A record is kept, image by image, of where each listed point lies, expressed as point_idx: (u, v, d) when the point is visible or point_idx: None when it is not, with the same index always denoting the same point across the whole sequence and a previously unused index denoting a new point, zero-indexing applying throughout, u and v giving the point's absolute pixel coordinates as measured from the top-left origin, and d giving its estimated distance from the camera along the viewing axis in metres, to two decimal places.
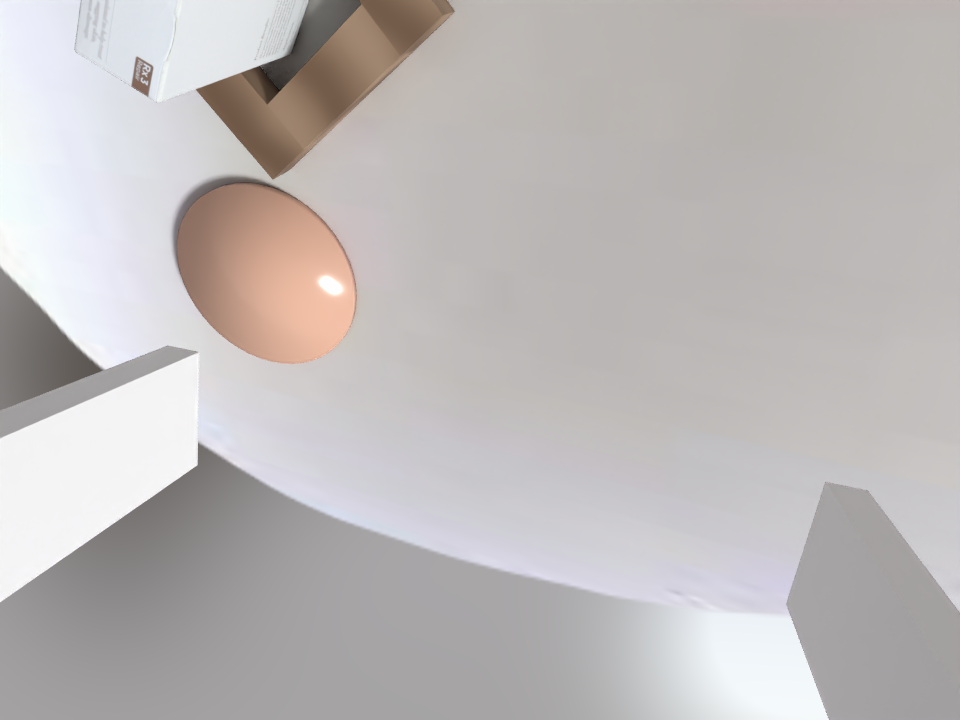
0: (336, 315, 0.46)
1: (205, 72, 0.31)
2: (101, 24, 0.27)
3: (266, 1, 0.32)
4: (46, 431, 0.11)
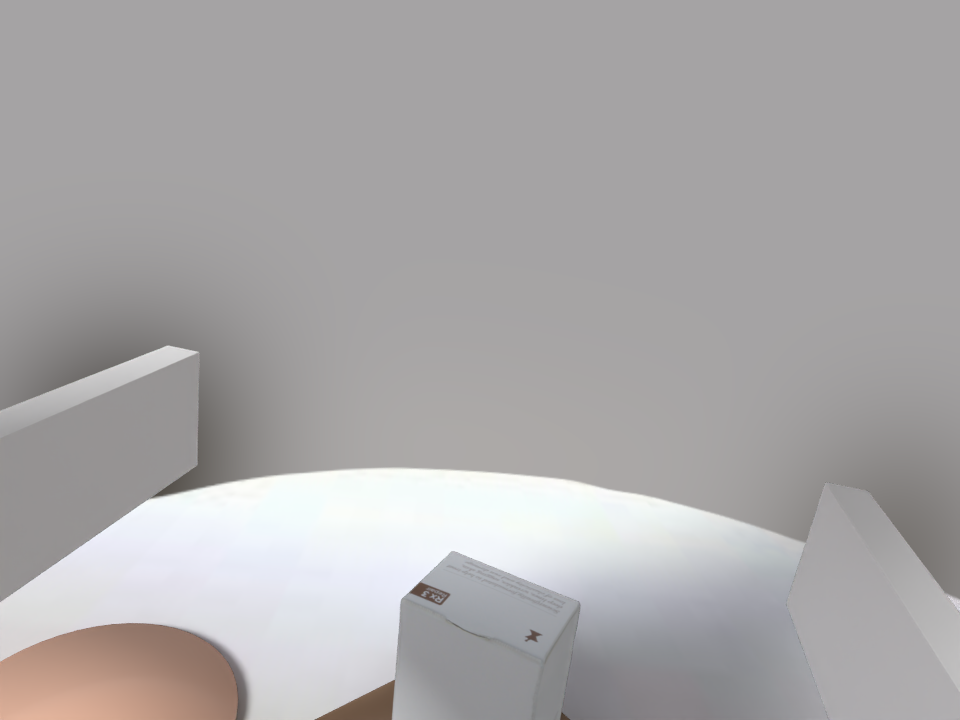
0: None
1: (412, 674, 0.26)
2: (479, 576, 0.27)
3: None
4: (46, 431, 0.11)
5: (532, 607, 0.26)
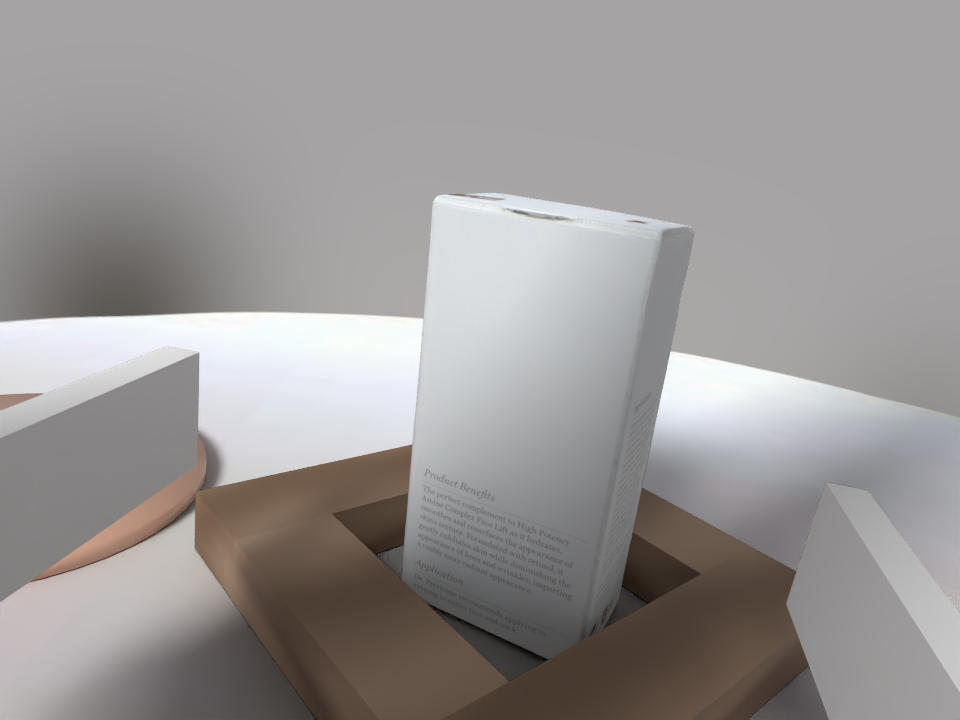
0: None
1: (449, 320, 0.18)
2: (544, 200, 0.19)
3: (529, 485, 0.18)
4: (46, 431, 0.11)
5: (627, 215, 0.17)
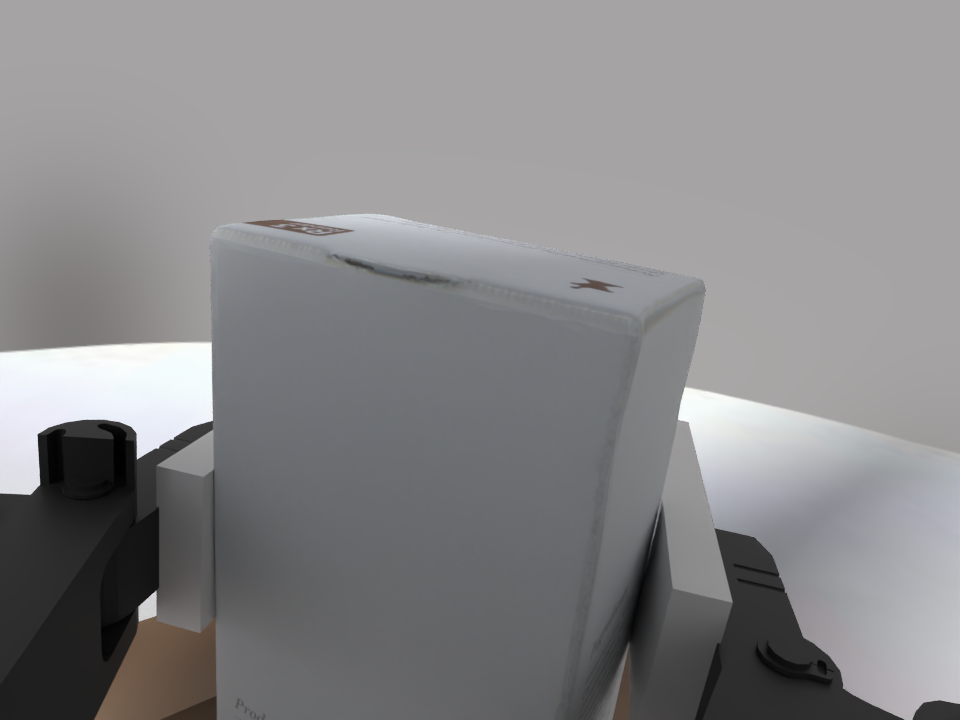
0: None
1: (250, 456, 0.09)
2: (439, 229, 0.11)
3: None
4: None
5: (582, 262, 0.09)
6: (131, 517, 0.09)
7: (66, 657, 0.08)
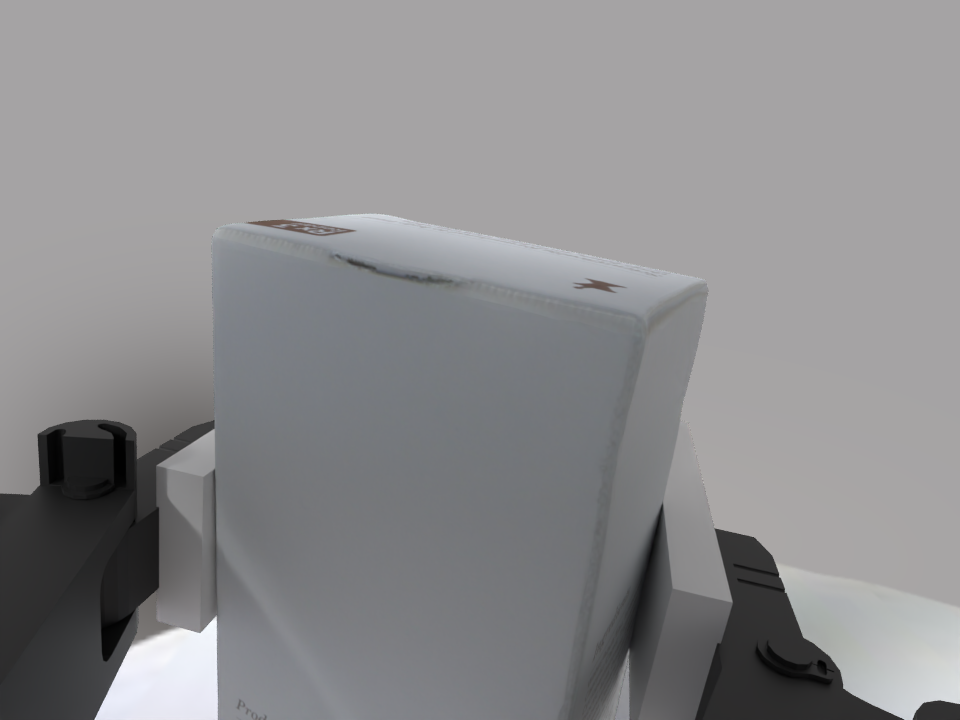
0: None
1: (252, 457, 0.09)
2: (441, 229, 0.11)
3: None
4: None
5: (584, 263, 0.09)
6: (131, 517, 0.09)
7: (66, 657, 0.08)
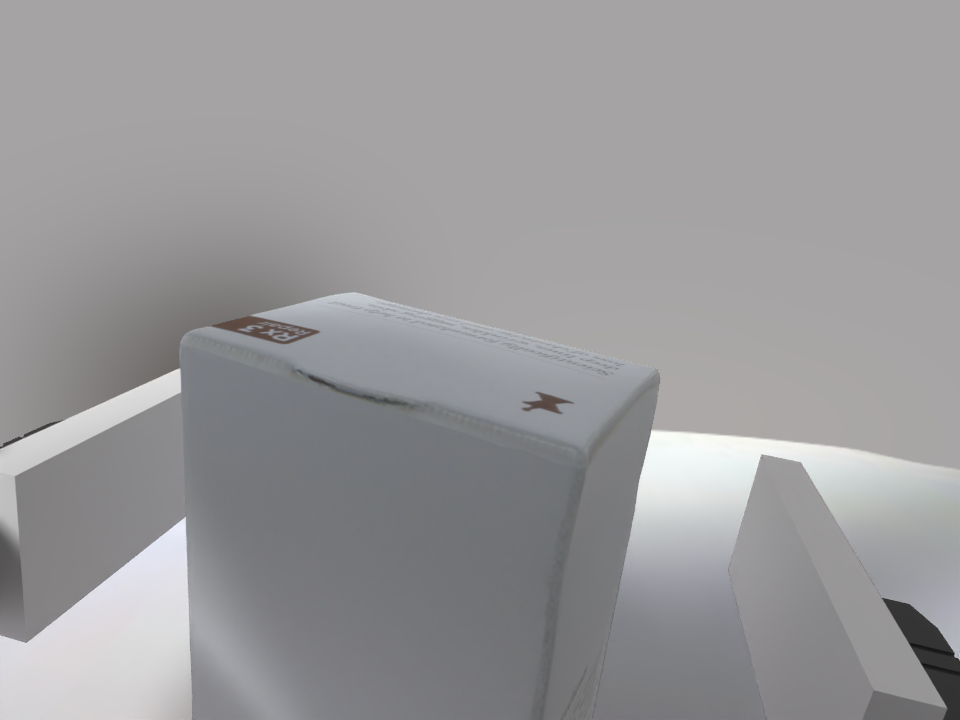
0: None
1: (222, 549, 0.10)
2: (405, 317, 0.11)
3: None
4: (135, 427, 0.11)
5: (539, 362, 0.10)
6: None
7: None
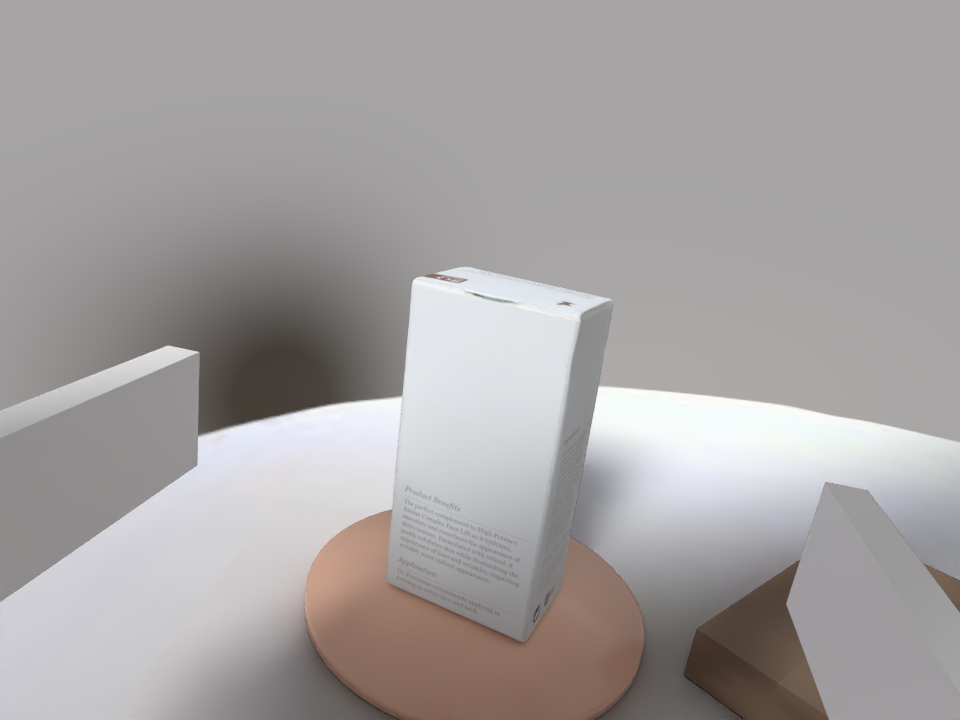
0: (421, 684, 0.22)
1: (424, 372, 0.23)
2: (498, 276, 0.24)
3: (486, 499, 0.23)
4: (46, 431, 0.11)
5: (561, 293, 0.23)
6: None
7: None
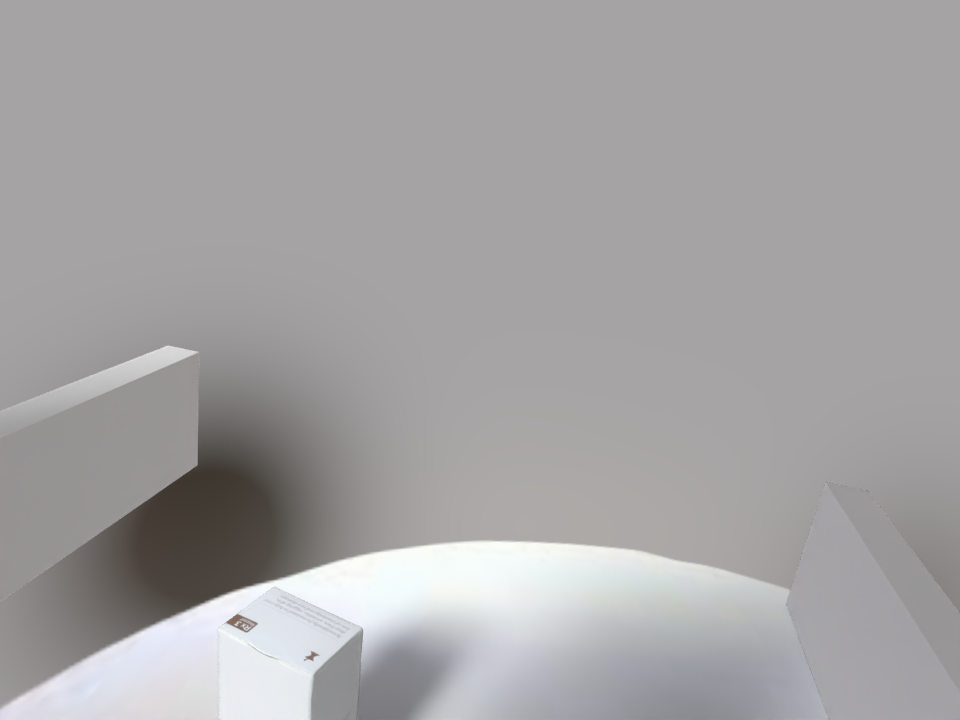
0: None
1: (229, 685, 0.34)
2: (286, 608, 0.35)
3: None
4: (46, 431, 0.11)
5: (320, 633, 0.33)
6: None
7: None
